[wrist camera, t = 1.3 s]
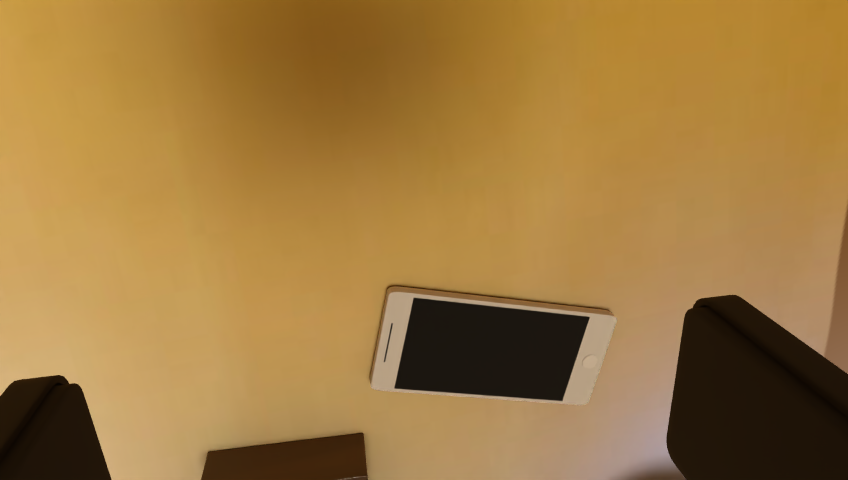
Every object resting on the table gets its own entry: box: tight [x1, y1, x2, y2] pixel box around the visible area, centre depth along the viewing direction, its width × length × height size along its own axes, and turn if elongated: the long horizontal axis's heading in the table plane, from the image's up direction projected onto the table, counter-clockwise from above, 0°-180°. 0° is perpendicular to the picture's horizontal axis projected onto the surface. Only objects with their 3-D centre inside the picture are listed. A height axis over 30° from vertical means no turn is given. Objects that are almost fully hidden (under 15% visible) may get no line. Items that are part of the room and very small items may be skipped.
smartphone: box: [370, 286, 617, 405], centre depth 39 cm, size 7×16×1 cm, turn 79°
